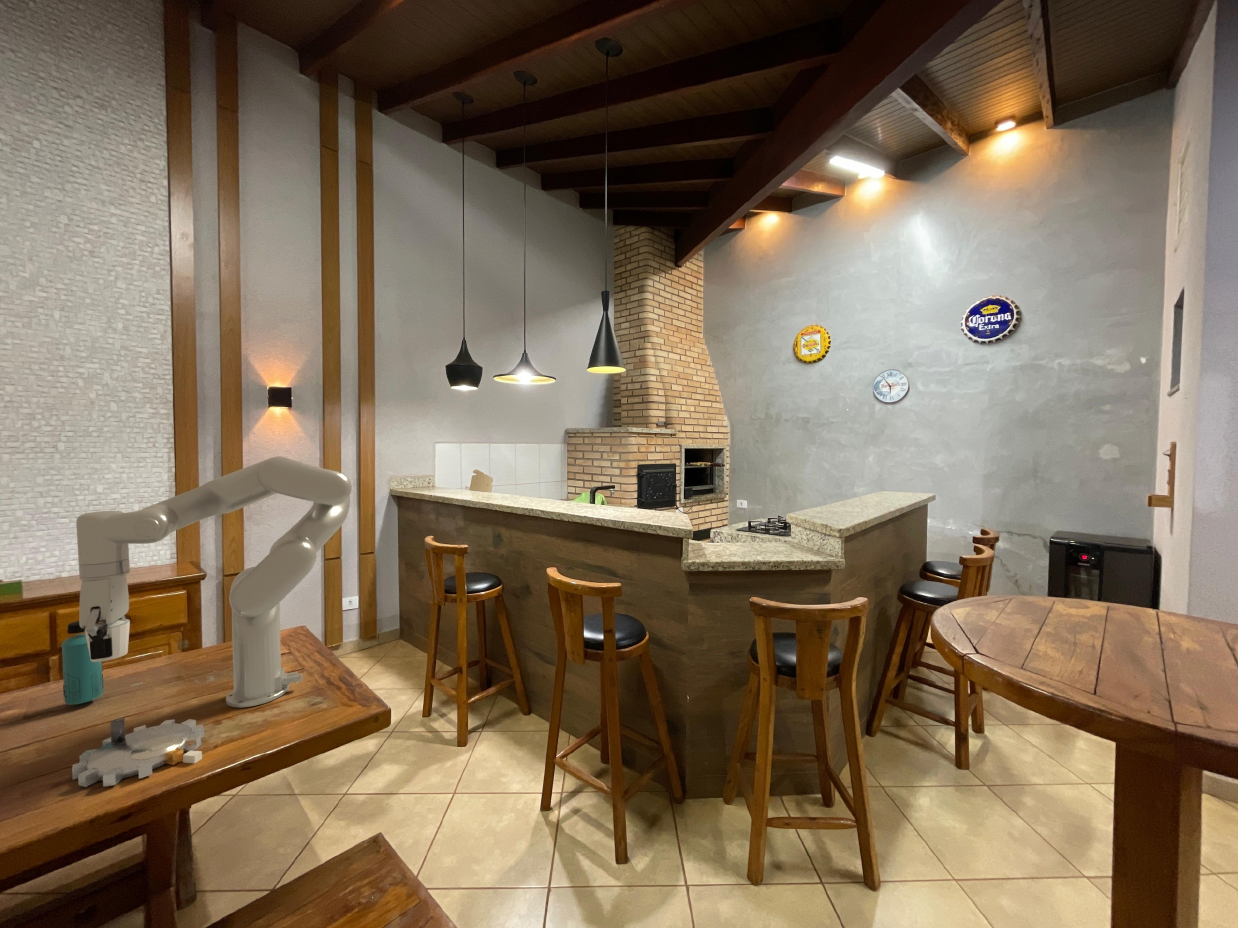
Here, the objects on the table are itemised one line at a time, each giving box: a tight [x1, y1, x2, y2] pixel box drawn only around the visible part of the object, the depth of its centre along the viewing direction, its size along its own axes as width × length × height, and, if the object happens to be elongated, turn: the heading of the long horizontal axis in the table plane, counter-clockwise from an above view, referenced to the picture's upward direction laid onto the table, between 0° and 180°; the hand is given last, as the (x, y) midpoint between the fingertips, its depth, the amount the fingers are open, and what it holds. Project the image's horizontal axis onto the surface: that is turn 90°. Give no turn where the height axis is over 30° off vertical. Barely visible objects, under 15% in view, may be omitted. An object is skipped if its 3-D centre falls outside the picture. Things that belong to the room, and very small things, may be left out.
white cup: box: [84, 618, 131, 662], centre depth 107 cm, size 7×7×7 cm
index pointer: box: [182, 750, 203, 764], centre depth 97 cm, size 2×2×2 cm, turn 84°
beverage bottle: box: [61, 620, 104, 706], centre depth 118 cm, size 6×7×20 cm
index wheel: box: [71, 717, 205, 788], centre depth 98 cm, size 19×19×6 cm
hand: (109, 650), depth 107 cm, fingers closed on white cup, 6 cm apart
